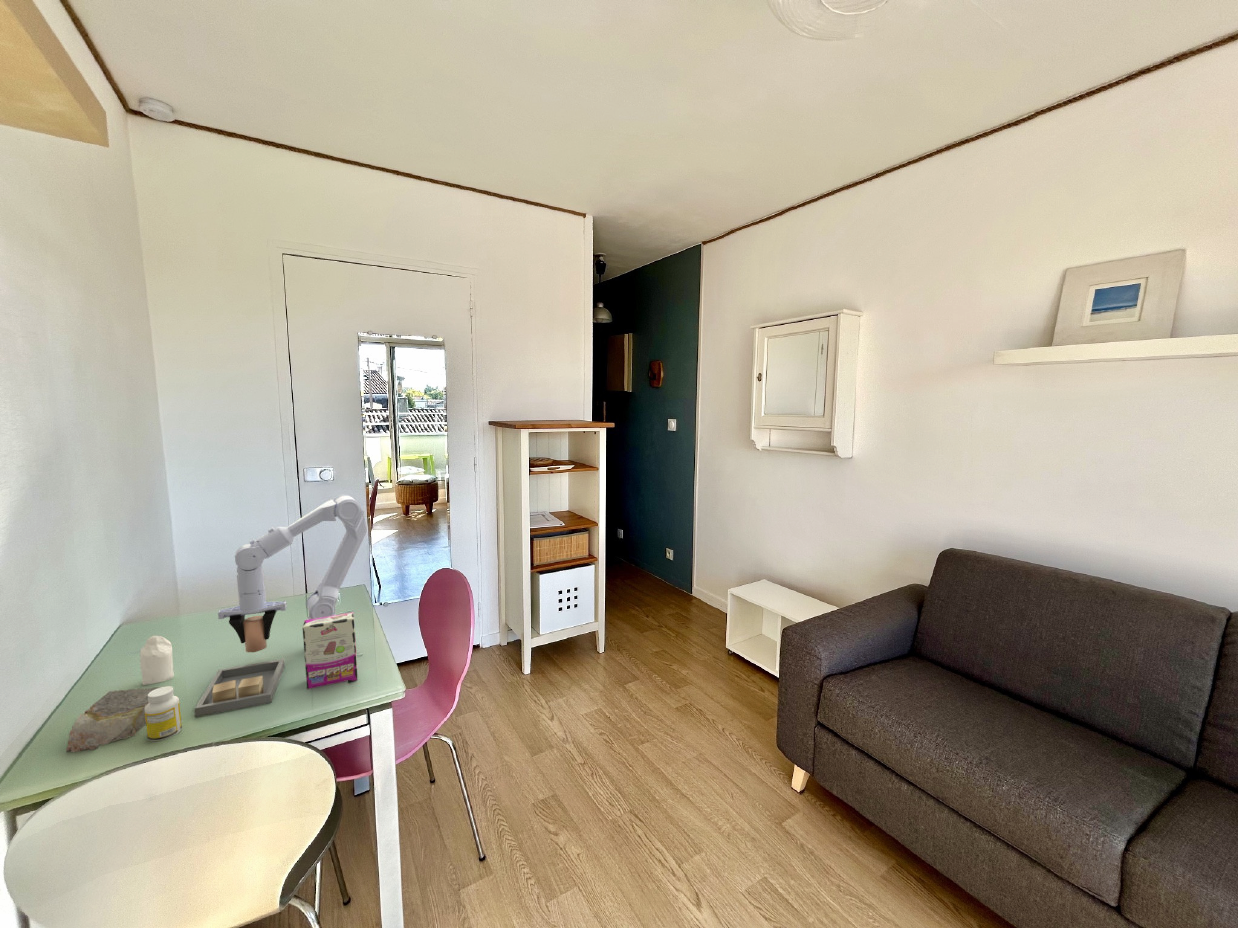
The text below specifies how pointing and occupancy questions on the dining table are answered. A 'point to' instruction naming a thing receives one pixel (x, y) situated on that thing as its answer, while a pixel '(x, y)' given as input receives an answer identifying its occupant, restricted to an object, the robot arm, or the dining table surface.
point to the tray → (270, 682)
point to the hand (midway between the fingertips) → (255, 639)
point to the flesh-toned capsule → (254, 634)
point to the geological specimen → (110, 719)
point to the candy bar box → (330, 650)
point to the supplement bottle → (162, 714)
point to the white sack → (156, 660)
